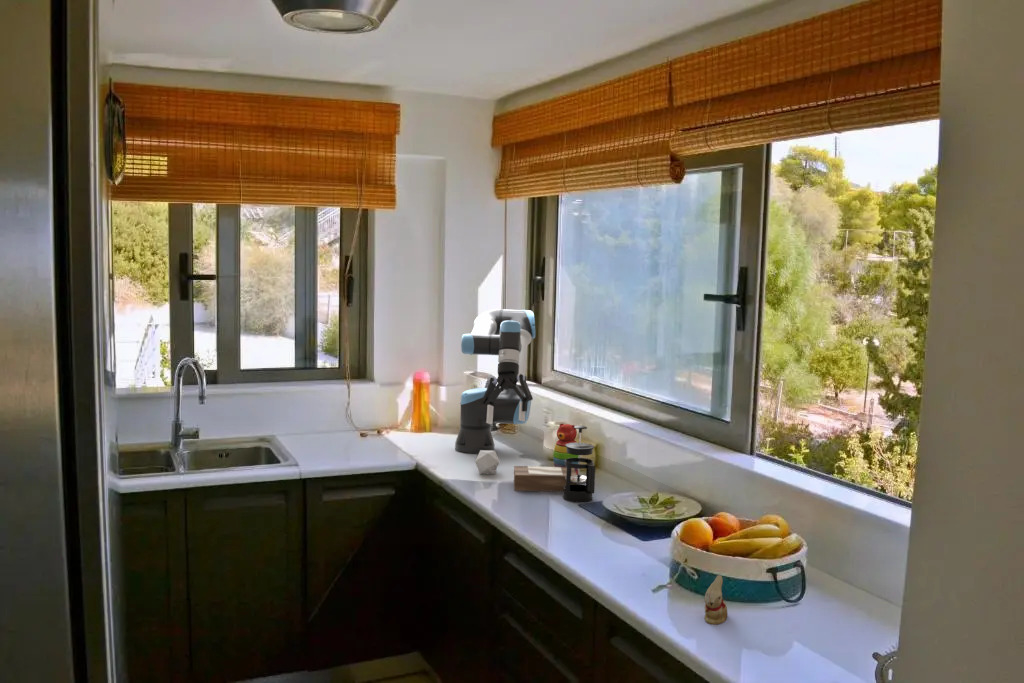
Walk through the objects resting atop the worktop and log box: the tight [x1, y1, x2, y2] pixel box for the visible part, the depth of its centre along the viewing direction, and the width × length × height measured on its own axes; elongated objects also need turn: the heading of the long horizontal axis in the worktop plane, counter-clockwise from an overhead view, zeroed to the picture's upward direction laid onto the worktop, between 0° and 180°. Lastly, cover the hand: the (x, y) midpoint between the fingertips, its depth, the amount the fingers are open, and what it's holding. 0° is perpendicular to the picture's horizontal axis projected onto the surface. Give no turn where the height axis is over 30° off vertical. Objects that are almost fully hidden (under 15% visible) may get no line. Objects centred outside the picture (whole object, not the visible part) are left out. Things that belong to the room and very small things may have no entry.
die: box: [474, 450, 500, 475], centre depth 311 cm, size 8×9×10 cm
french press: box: [562, 425, 596, 503], centre depth 282 cm, size 12×9×23 cm
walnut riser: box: [513, 465, 578, 492], centre depth 297 cm, size 12×20×5 cm, turn 91°
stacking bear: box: [552, 423, 579, 475], centre depth 311 cm, size 11×10×18 cm
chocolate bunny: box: [703, 574, 728, 626], centre depth 194 cm, size 6×8×10 cm
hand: (505, 422), depth 315 cm, fingers open, 13 cm apart
